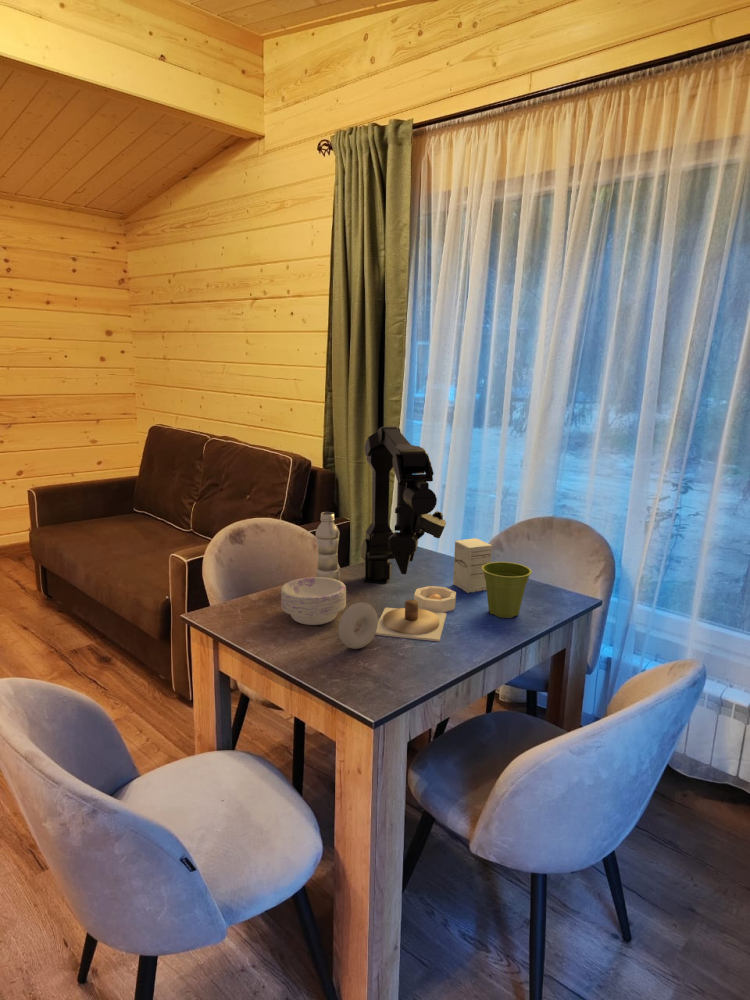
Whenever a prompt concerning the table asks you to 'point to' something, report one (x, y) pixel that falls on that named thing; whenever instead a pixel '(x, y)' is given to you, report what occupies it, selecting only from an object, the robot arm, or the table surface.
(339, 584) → the paper bowls
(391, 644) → the table surface
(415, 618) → the lid
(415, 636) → the mat
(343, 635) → the donut
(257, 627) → the table surface
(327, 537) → the plastic bottle
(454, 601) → the dish
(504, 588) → the plant pot
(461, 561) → the supplement box
